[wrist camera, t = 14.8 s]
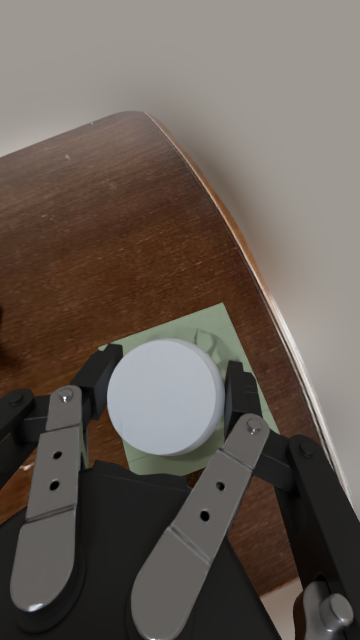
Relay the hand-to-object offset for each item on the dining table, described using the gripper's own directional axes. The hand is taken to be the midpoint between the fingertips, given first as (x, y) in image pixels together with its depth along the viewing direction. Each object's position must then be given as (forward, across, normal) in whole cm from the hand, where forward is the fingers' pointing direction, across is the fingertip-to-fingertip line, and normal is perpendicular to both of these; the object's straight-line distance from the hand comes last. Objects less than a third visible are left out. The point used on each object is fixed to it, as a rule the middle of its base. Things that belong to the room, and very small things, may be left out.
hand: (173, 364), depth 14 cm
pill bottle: (+4, 0, +6) cm, 8 cm away
